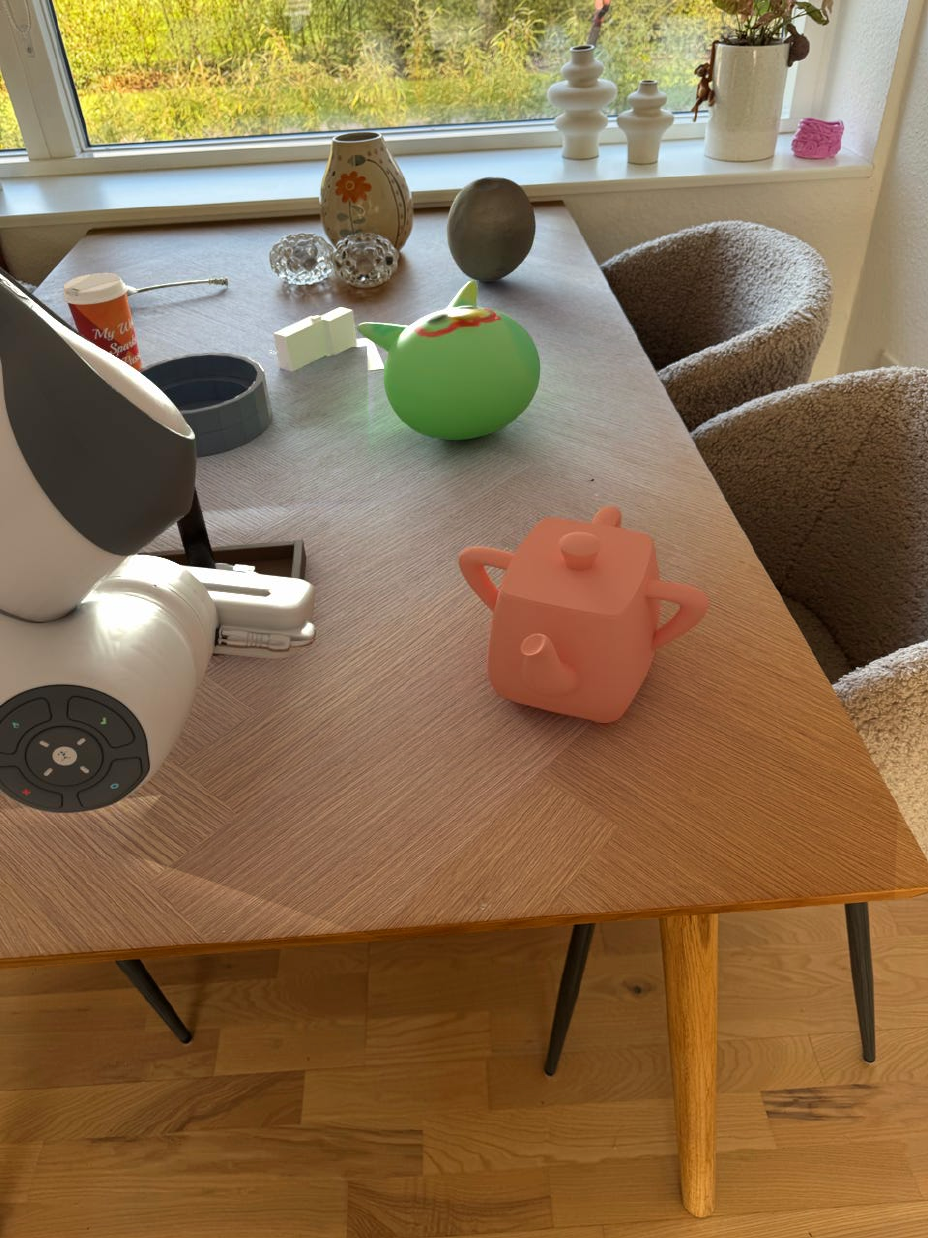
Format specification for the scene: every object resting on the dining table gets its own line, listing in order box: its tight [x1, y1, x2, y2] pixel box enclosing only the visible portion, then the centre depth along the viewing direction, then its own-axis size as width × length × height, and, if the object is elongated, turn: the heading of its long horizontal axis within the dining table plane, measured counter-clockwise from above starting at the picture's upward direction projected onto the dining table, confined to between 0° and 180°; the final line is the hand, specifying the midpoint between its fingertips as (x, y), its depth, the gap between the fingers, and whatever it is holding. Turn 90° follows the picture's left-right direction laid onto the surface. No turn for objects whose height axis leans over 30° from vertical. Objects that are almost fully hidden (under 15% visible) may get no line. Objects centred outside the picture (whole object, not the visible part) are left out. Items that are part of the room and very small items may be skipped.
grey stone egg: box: [446, 176, 537, 282], centre depth 142 cm, size 14×14×15 cm
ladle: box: [175, 486, 234, 571], centre depth 77 cm, size 6×6×19 cm
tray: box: [137, 539, 307, 657], centre depth 83 cm, size 16×14×2 cm
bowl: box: [138, 352, 273, 458], centre depth 110 cm, size 17×17×6 cm
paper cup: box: [62, 272, 143, 371], centre depth 117 cm, size 8×8×14 cm
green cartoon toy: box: [356, 280, 541, 441], centre depth 104 cm, size 18×17×15 cm
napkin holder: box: [269, 306, 385, 373], centre depth 124 cm, size 15×11×6 cm
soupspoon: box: [126, 276, 229, 298], centre depth 147 cm, size 22×3×7 cm
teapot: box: [457, 505, 710, 724], centre depth 70 cm, size 17×16×13 cm
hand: (180, 567), depth 69 cm, fingers open, 8 cm apart
